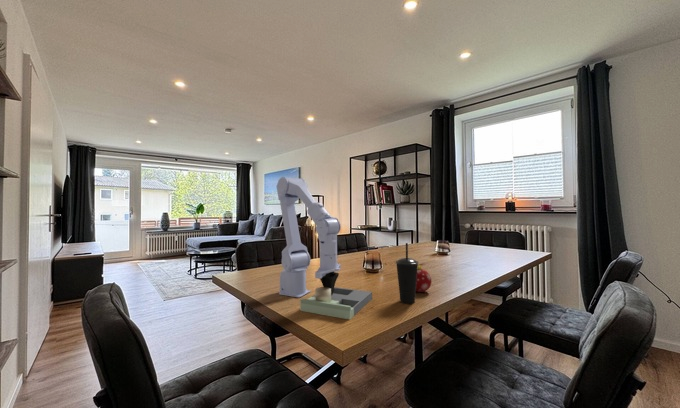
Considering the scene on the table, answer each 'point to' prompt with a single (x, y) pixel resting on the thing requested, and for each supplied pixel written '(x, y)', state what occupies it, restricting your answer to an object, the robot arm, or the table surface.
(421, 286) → the christmas ornament
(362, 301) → the trap deck
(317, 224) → the robot arm
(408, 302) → the drinking cup
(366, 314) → the table surface
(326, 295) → the beige rounded cylinder
